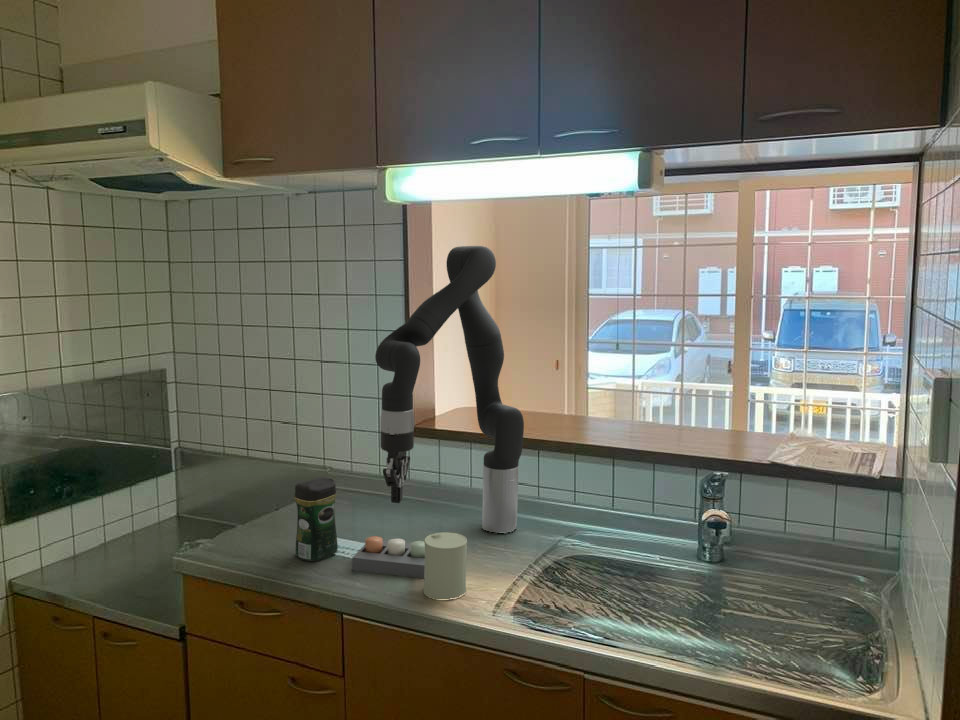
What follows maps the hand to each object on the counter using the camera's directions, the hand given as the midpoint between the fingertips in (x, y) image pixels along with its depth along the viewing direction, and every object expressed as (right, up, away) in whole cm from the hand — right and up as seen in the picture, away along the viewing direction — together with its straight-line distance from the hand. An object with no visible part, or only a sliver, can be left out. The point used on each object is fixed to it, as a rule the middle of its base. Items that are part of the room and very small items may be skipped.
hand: (396, 501), depth 170 cm
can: (+12, -17, -12) cm, 24 cm away
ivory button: (0, -13, +2) cm, 13 cm away
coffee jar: (-20, -14, +6) cm, 25 cm away
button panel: (0, -15, +2) cm, 15 cm away
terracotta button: (-6, -12, +3) cm, 14 cm away
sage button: (+5, -13, +1) cm, 14 cm away
